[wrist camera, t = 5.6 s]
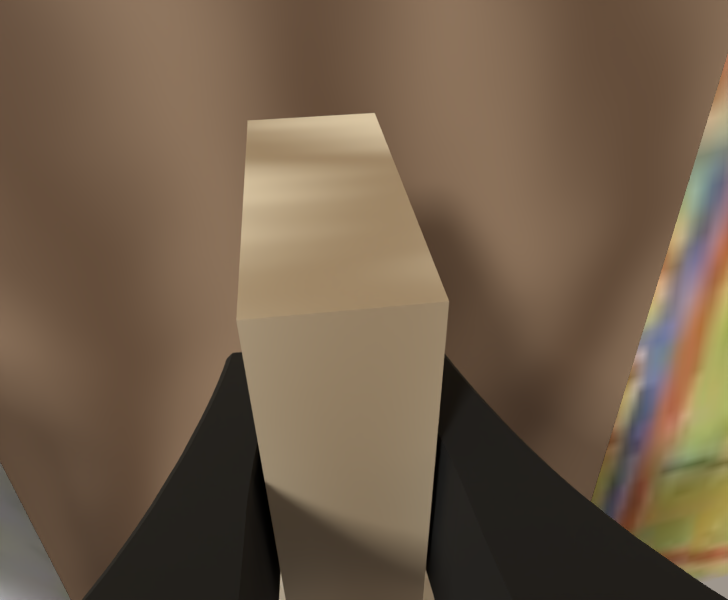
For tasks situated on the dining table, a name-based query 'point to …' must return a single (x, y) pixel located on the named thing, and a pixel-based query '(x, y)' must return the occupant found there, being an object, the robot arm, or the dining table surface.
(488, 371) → the board
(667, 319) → the dining table surface
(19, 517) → the dining table surface
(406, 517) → the beige long rectangular bar
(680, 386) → the dining table surface
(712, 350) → the dining table surface
